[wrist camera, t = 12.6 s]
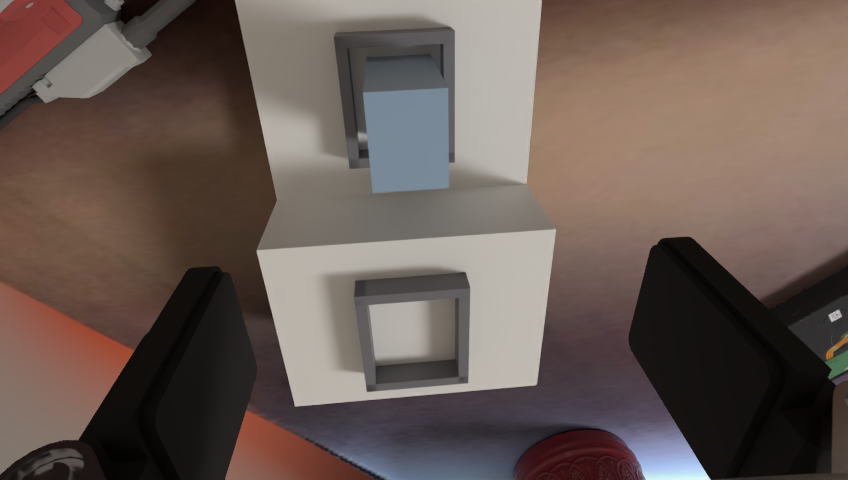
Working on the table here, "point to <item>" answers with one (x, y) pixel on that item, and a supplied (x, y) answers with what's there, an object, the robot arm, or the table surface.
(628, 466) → the canister
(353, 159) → the dock
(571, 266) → the table surface
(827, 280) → the disk drive
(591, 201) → the table surface
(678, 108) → the table surface
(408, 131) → the plug
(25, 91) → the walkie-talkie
